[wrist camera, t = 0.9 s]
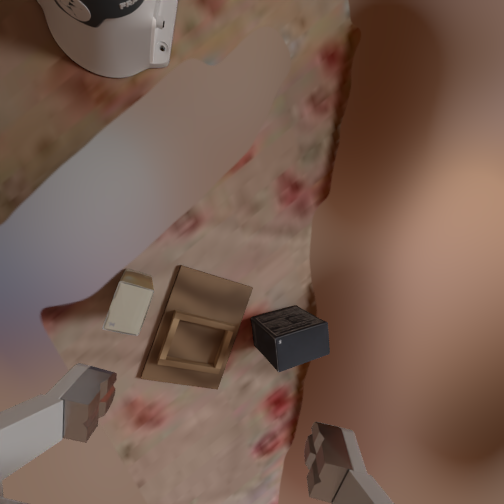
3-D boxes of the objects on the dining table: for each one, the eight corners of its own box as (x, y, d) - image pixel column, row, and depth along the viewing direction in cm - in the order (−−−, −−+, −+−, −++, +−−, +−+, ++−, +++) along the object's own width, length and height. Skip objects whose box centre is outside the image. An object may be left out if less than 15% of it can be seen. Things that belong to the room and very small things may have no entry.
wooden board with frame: (180, 265, 47) (182, 267, 44) (251, 287, 52) (255, 289, 50) (140, 376, 46) (140, 383, 44) (216, 386, 51) (219, 393, 49)
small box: (253, 348, 53) (277, 375, 44) (249, 316, 52) (273, 337, 43) (299, 333, 57) (331, 356, 47) (296, 304, 56) (328, 320, 46)
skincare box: (139, 310, 45) (137, 339, 33) (111, 304, 43) (100, 332, 32) (153, 273, 45) (155, 290, 34) (125, 266, 43) (119, 280, 32)
